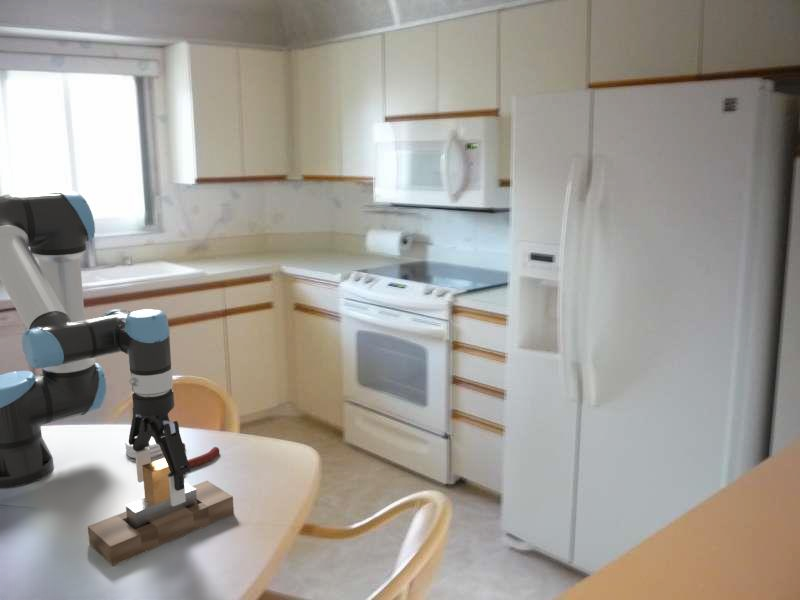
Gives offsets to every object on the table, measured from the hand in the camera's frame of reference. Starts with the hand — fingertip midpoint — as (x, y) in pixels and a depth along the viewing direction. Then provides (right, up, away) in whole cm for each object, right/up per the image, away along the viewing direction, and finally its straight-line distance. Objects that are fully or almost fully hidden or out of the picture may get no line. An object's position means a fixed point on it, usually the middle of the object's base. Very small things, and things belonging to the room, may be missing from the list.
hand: (161, 491), depth 144 cm
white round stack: (-16, 0, +38) cm, 41 cm away
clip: (0, -8, +2) cm, 8 cm away
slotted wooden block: (0, -8, +2) cm, 8 cm away
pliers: (-6, -2, +29) cm, 30 cm away
